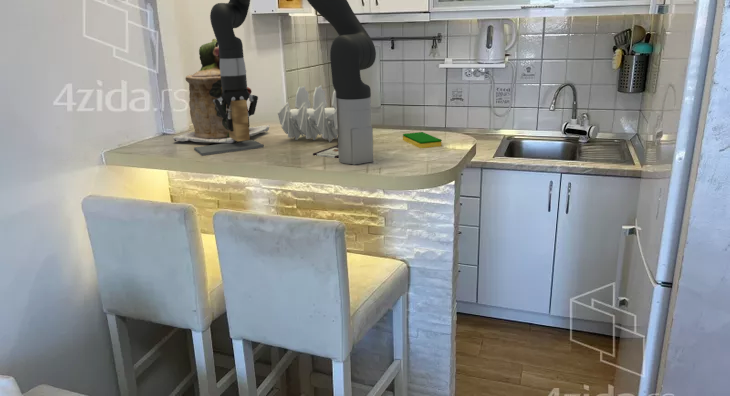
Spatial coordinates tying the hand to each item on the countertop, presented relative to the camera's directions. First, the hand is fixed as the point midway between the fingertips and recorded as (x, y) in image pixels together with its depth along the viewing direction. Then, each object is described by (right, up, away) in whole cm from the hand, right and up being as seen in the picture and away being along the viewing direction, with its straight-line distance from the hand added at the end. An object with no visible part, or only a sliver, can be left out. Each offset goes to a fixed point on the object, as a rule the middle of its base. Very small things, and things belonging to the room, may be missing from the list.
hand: (238, 129), depth 170 cm
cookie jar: (-9, 0, +17) cm, 19 cm away
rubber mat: (-3, -6, 0) cm, 6 cm away
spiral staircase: (+26, -3, +9) cm, 27 cm away
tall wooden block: (0, -2, +1) cm, 3 cm away
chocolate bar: (+33, -7, -6) cm, 34 cm away
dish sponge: (+57, -5, +1) cm, 57 cm away
